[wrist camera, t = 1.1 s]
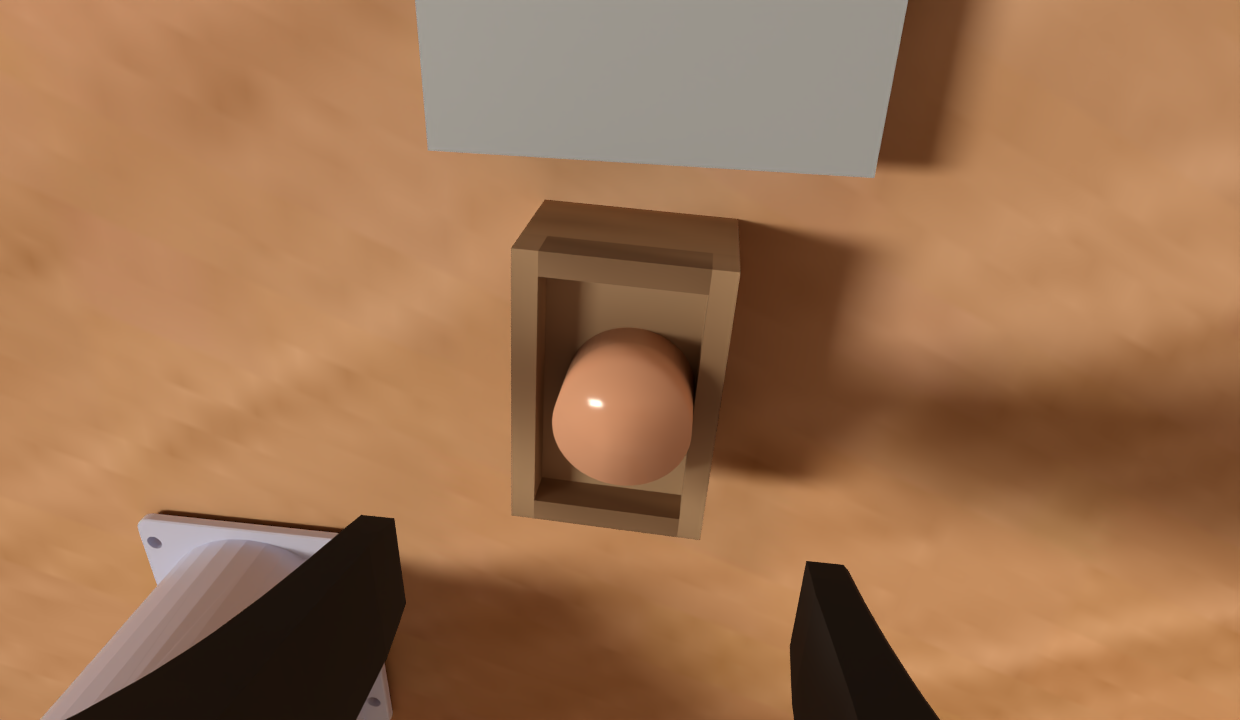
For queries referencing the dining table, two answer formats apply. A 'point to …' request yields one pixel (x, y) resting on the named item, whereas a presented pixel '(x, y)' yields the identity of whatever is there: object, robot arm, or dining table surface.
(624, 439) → the ball
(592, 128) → the dock
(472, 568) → the dining table surface
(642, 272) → the open wooden crate
